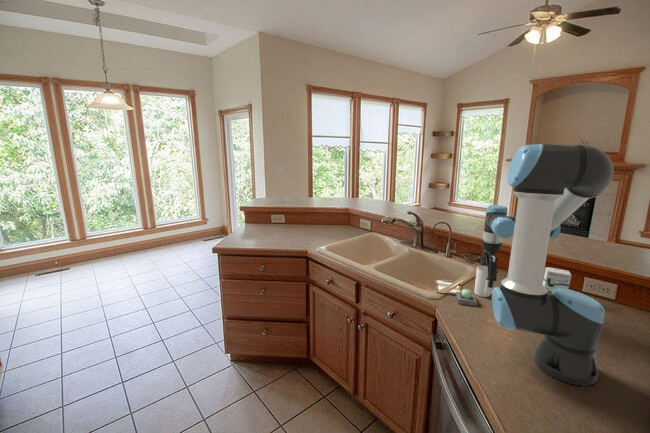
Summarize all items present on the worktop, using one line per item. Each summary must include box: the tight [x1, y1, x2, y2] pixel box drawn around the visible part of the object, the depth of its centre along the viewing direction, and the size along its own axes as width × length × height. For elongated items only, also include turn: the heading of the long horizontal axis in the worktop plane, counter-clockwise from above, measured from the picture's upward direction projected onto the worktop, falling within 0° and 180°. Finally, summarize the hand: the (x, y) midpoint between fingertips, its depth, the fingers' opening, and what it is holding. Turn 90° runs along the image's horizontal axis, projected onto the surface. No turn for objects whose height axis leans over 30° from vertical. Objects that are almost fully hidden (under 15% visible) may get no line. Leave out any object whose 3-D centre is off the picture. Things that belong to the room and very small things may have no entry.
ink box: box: [542, 266, 572, 295], centre depth 132 cm, size 9×5×12 cm, turn 62°
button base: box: [455, 291, 478, 307], centre depth 128 cm, size 7×7×2 cm
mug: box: [473, 265, 493, 298], centre depth 134 cm, size 10×7×12 cm, turn 119°
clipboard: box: [434, 279, 463, 297], centre depth 139 cm, size 13×11×1 cm
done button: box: [461, 288, 473, 300], centre depth 127 cm, size 4×4×3 cm
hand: (485, 286), depth 134 cm, fingers open, 13 cm apart
